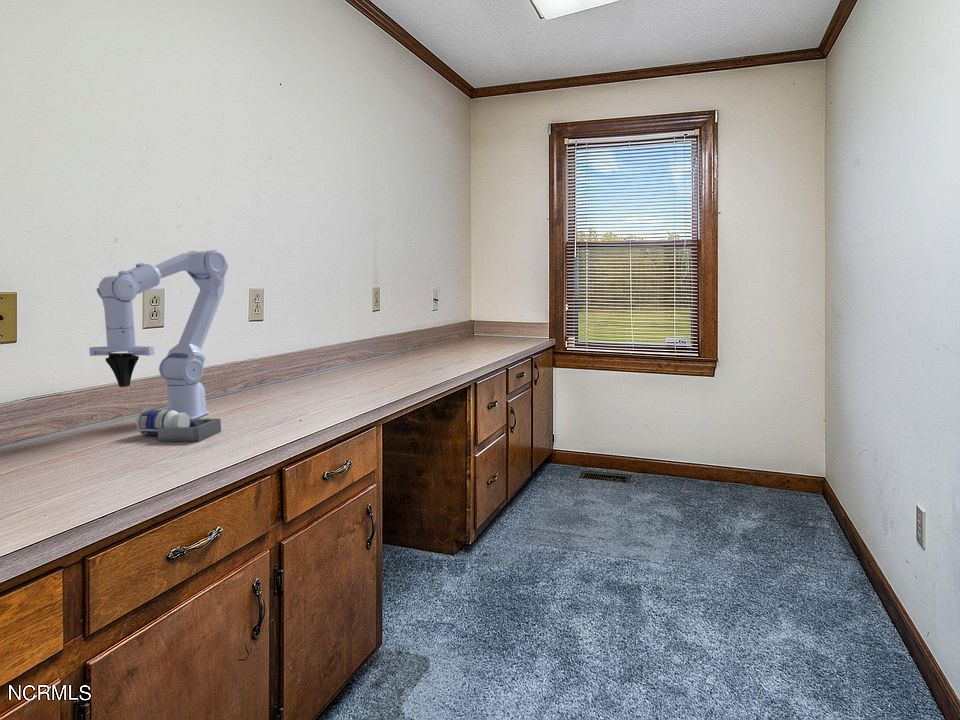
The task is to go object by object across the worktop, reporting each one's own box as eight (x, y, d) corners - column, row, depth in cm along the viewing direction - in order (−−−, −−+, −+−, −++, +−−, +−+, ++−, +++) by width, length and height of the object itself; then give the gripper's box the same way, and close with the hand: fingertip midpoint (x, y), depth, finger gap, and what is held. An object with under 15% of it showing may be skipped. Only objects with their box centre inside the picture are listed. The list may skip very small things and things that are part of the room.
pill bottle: (155, 423, 150) (194, 424, 148) (141, 440, 145) (182, 441, 144) (146, 404, 147) (186, 405, 145) (131, 420, 142) (173, 422, 141)
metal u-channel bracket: (183, 431, 149) (182, 418, 149) (221, 431, 149) (220, 418, 148) (158, 441, 139) (157, 427, 139) (199, 441, 139) (198, 428, 138)
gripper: (78, 329, 145) (83, 388, 147) (139, 329, 144) (143, 389, 146) (99, 327, 152) (103, 384, 154) (157, 327, 151) (161, 384, 153)
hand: (124, 386), depth 150 cm, fingers closed
